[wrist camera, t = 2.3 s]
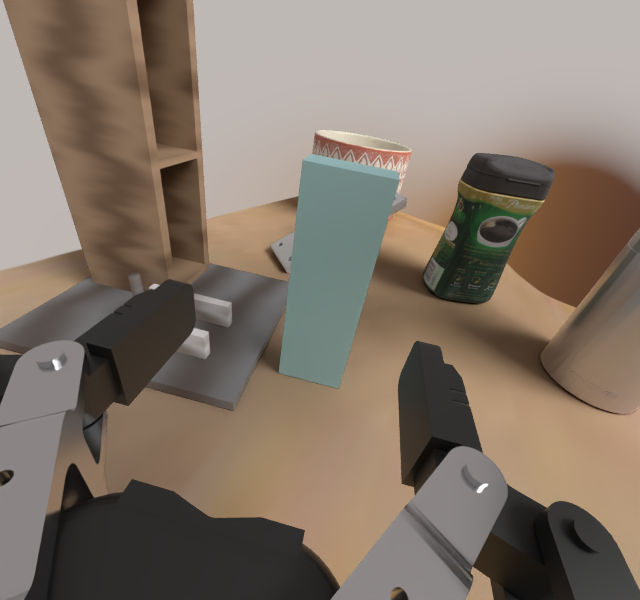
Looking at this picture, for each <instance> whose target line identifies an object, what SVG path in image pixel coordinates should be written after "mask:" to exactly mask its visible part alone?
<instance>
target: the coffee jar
mask: <svg viewBox="0 0 640 600" xmlns="http://www.w3.org/2000/svg"><path fill="white" fill-rule="evenodd" d="M553 179H554V170H553V169H552V168H550V167H547V166H545V165H542V164H540V163H537V162H534V161H530V160H527V159H523V158H519V157H514V156H506V155H498V154H485V153H476V154H475V155H474V156H473V157H472V158H471V160H470V161H469V163H468V165H467V168H466V170H465V172H464V173H463V176H462V177H461V179H460V181H459V184H458V200H457V203H456V206H455V209H454V211H453V214H452V216H451V219H450V221H449V223H448V225H447V227H446V229H445V231H444V233H443V235H442V237H441V239H440V241H439V243H438V245H437V247H436V248H435V250H434V252H433V254H432V256H431V258H430V260H429V262H428V264H427V266H426V268H425V271H424V273H423V278H424V282H425V284H426V286H427V288H428V289H430V290H431V291H432V292H434V293H435V294H436V295H437V296H439V297H442V298H445V299H450V300H455V301H462V302H470V303H485V302H487V301H489V300H490V299H491V297H492V295H493V293H494V291H495V289H496V287H497V284H498V282H499V279H500V277H501V275H502V272H503V270H504V267H505V265H506V263H507V260H508V258H509V256H510V254H511V251H512V249H513V247H514V245H515V243H516V240H517V239H518V236H519V235H520V233H521V231H522V229H523V228H524V226H525V224H526V222H527V221H528V220H529V219H530V217H531V216H532V215H533V214H534V213H535V212H536V211H537V210H538V209H539V208H540V207H541V205H542V204H543V203H544V201H545V199H546V196H547V194H548V191H549V189H550V186H551V185H552V182H553Z"/></svg>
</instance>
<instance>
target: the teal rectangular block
mask: <svg viewBox="0 0 640 600" xmlns="http://www.w3.org/2000/svg"><path fill="white" fill-rule="evenodd" d="M399 181H400V178H399V172H398V171H393V170H388V169H383V168H378V167H373V166H368V165H363V164H358V163H354V162H349V161H344V160H339V159H334V158H329V157H324V156H319V155H314V154H311V155H310V156H308V157H307V158H305V159H304V160H303V161H302V170H301V179H300V188H299V197H298V206H297V215H296V224H295V232H294V241H293V250H292V259H291V268H290V277H289V286H288V295H287V304H286V312H285V321H284V330H283V339H282V348H281V357H280V366H279V373H280V374H283V375H287V376H291V377H295V378H299V379H303V380H307V381H310V382H314V383H318V384H322V385H326V386H330V387H334V388H337V389H339V387H340V384H341V380H342V377H343V373H344V370H345V366H346V363H347V360H348V356H349V353H350V349H351V346H352V342H353V339H354V335H355V332H356V329H357V325H358V322H359V318H360V315H361V311H362V308H363V305H364V301H365V298H366V294H367V291H368V287H369V284H370V281H371V277H372V274H373V270H374V267H375V263H376V260H377V256H378V253H379V250H380V246H381V243H382V239H383V236H384V232H385V229H386V226H387V222H388V219H389V215H390V212H391V208H392V205H393V201H394V198H395V195H396V191H397V188H398V184H399Z"/></svg>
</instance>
